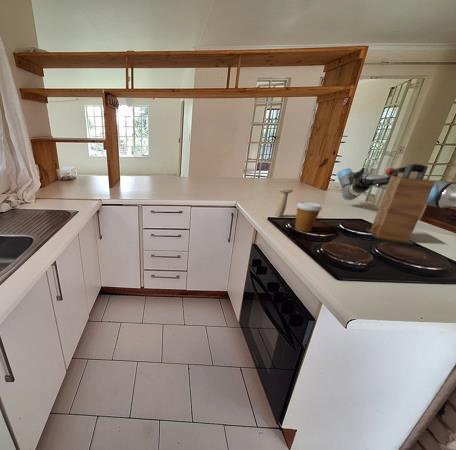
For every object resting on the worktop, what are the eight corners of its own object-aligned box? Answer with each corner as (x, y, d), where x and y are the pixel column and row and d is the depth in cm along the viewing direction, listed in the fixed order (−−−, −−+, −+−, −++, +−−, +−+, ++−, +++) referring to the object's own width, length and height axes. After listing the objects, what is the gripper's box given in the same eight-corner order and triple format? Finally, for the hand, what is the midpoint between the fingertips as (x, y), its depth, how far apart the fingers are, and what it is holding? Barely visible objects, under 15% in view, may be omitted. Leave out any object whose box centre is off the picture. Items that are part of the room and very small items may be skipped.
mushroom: (274, 213, 130) (280, 187, 125) (286, 216, 127) (293, 189, 122) (271, 215, 127) (277, 188, 122) (284, 218, 123) (291, 190, 118)
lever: (382, 175, 111) (385, 168, 110) (392, 176, 110) (394, 168, 109) (411, 172, 91) (414, 162, 90) (423, 172, 90) (426, 163, 89)
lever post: (364, 231, 109) (390, 163, 98) (397, 236, 105) (428, 165, 94) (375, 240, 98) (405, 165, 88) (412, 246, 94) (449, 168, 84)
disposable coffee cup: (310, 234, 102) (317, 208, 98) (287, 228, 109) (293, 203, 105) (318, 230, 108) (325, 205, 104) (296, 224, 114) (302, 200, 110)
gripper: (385, 195, 133) (411, 181, 113) (333, 190, 142) (348, 176, 122) (387, 183, 134) (412, 167, 114) (335, 178, 143) (350, 163, 123)
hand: (379, 171), depth 118 cm, fingers open, 13 cm apart
